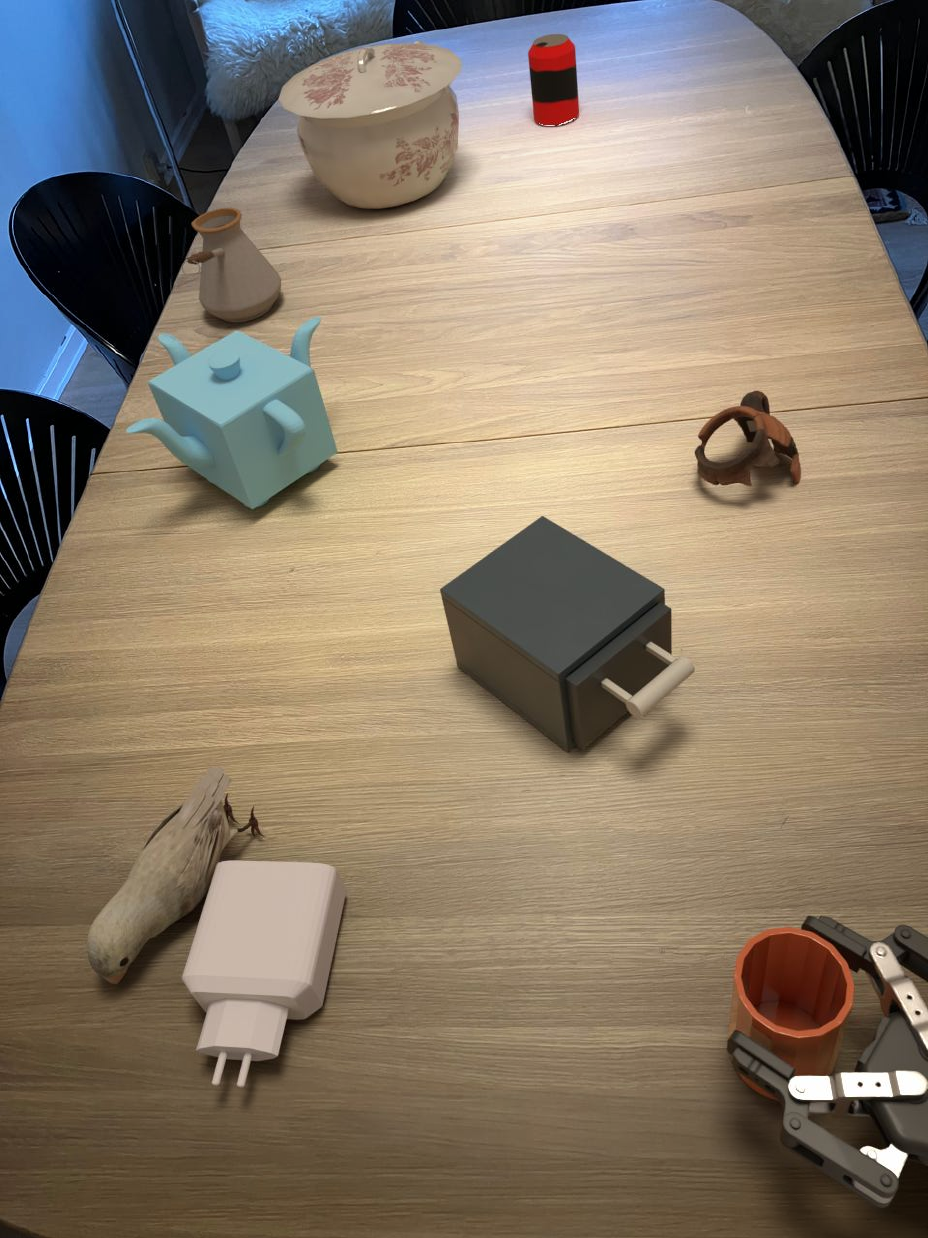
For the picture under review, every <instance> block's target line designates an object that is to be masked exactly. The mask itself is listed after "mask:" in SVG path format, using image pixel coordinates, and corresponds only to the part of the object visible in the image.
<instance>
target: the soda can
mask: <svg viewBox="0 0 928 1238" xmlns="http://www.w3.org/2000/svg"><path fill="white" fill-rule="evenodd" d="M576 54H577V53H576V45H575V44H574V42H573V41H572V40H571V39H570V37H569V36H568V35H567V34H563V33H552V34H551V33H550V34H545V35H542V36H540V37H537V38H535V39H533V41H532V44H531V46H530V48H529V49H528V52H527V58H528V68H529V79H530V80H529V81H530V89H531V90H530V91H531V101H532V113H533V120H534V122H535V123H536V124H538V123H540V124H543V125H559V124H561V123H564V122H566V121H569V120H571V119H573V118H576V117H577V118H578V116H579V115H580V103H579V89H578V88H579V87H578V85H579V84H578V72H577V71H578V70H577V55H576ZM578 114H579V115H578ZM577 118H576V119H577Z"/></svg>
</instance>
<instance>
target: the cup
mask: <svg viewBox="0 0 928 1238" xmlns="http://www.w3.org/2000/svg"><path fill="white" fill-rule="evenodd" d="M731 991H732V992H731V1002H730V1012H729V1021H728V1022H729V1023H728V1034H727V1040H728V1039H729V1037H730V1036H731V1034H732V1033H733V1031H734V1030H738V1031H740V1032H742V1033H744V1034H745V1035H746V1036H748V1037H749V1038H751V1039H752V1040H754V1041H755V1042H757V1043H758V1044H760V1045H761V1046H763V1047H764V1048H766V1049H767V1050H769V1051H770V1052H772V1053H773V1054H775V1055H776V1056H778V1057H779V1058H781V1059H782V1060H784V1061H785V1062H787V1063H788V1064H790V1065H791V1066H793V1067H794V1068H795V1072H794V1075H796V1076H832V1075H833V1072H834V1070H835V1067H836V1063H837V1060H838V1056H839V1053H840V1050H841V1046H842V1043H843V1040H844V1036H845V1033H846V1030H847V1026H848V1022H849V1020H850V1016H851V1013H852V1009H853V1005H854V995H855V981H854V978H853V976H852V972H851V969H849V966H848V964H847V962H846V961H845V959H844V958H843V957H842V956H841V955H840V953H839V952H838V951H837V950H836V948H835V947H834V946H833V945H832V944H831V943H829V942H827V941H826V940H824V939H823V938H821V937H819V936H818V935H816V934H814V933H813V932H810V931H806V930H801V928H797V927H793V926H785V927H775V928H768V929H765V930H763V931H762V932H760V933H759V934H756V935H755V936H753V937H751V938H750V939H748V940H747V942H746V943H745V945H744V946H743V947H742V948H741V950H740V951H739V953H738V954H737V956H736V961H735V967H734V972H733V980H732V990H731ZM729 1057H730V1061H732V1055H730V1054H729ZM735 1071H736V1072H737V1074H738V1076H739V1077H740V1078H741V1079H742V1081H743V1082H744V1083H745V1084H746V1085H747V1086H748V1087H749V1088H751V1090H753V1091H755V1092H756V1093H758V1094H759V1095H762V1096H763V1097H766V1098H767V1099H771V1100H774V1101H778V1100H777V1099H776V1098H775V1097H773V1096H772V1095H770V1094H769V1093H768V1092H766V1091H765V1090H763V1089H762V1088H760V1087H759V1086H758V1085H756V1084H755V1083H754V1082H752V1081H750V1080H749V1079H748V1078H746V1077H745V1076H743V1075H742V1074H740V1073H739V1072H738V1071H737V1070H736V1069H735Z"/></svg>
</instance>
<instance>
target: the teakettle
mask: <svg viewBox="0 0 928 1238" xmlns="http://www.w3.org/2000/svg"><path fill="white" fill-rule="evenodd" d="M321 321H322V317H320V316H316V317H313V318H311V319H308V320H306V321H305V322H304V323H302V324H301V325H300V326H299V327H298V328H297V330H296V331H295V333H294V335H293V338H292V341H291V346H290V351H289V352H290V353H289V355H288V354H285V353H283V352H282V351H280V350H277V349H276V348H274V347H273V346H269V345H268V344H266V343H264V342H262V341H259V340H257V339H256V338H255V337H251V336H250V335H248V334H245V333H244V332H242V331H239V330H235V331H233V332H231V333H229V334H228V335H226V336H224V337H222V338H221V339H219V340H217V341H215V342H214V343H212V344H210V345H208V346H207V347H205V348H203V349H201V350H200V351H198V352H196V353H195V354H191V352H190V351H189V350H188V349H187V348H186V347H185V345H184V344H183V342H181V341H180V340H179V339H178V338H177V337H176V336H174V335H172V334H169V333H160V334H158V336H157V340H158V341H159V343H160V344H161V345H162V346H163V348H164V349H165V350H166V352H167V354H168V355H169V356H170V358H171V360H172V363H173V365H174V366H172V367H170V368H168V369H167V370H165V371H163V372H161V373H160V374H159V375H157V376H155V377H153V378H151V379H149V380H148V382H147V384H148V387H149V390H150V391H151V394H152V396H153V398H154V400H155V403H156V405H157V408H158V411H159V412H160V415H161V417H162V419H161V418H157V417H147V418H143V419H141V420H139V421H136V422H135V423H133V424H131V425H130V426H129V427H128V428H126V430H125V433H127V434H147V435H151V436H152V437H154V438H156V439H158V440H159V441H160V442H161V444H163V446H164V447H165V448H166V449H167V450H168V451H169V452H170V454H172V455H173V456H174V457H175V459H177V460H179V461H180V462H181V463H182V464H184V465H185V466H187V467H189V468H190V469H191V470H193V471H194V472H196V473H197V474H199V475H200V476H202V477H203V478H205V479H206V480H207V481H208V482H209V483H211V484H214V485H215V486H216V487H218V488H219V489H221V490H223V491H224V492H225V493H226V494H228V495H230V496H232V497H233V498H234V499H236V500H237V501H239V502H240V503H241V504H243V505H244V507H247V508H249V509H251V510H254V509H256V508H257V509H258V508H260V507H262V506H264V505H266V504H267V503H268V502H269V500H270V499H271V498H272V497H274V496H275V495H277V494H278V493H279V492H281V491H283V490H284V489H286V488H287V487H289V486H290V485H291V484H293V483H294V482H296V481H297V480H299V479H300V478H302V477H303V476H305V475H306V474H310V473H313V472H315V471H316V470H317V469H318V468H320V466H321V464H323V463H324V462H326V461H327V460H329V459H330V458H332V457H333V456H335V455H336V454H337V453H338V452H339V451H338V447H337V444H336V441H335V438H334V437H335V436H334V434H333V430H332V427H331V425H330V419H329V417H328V413H327V409H326V406H325V403H324V399H323V396H322V392H321V389H320V385H319V383H318V378H317V376H316V375H317V374H316V372H315V369H314V368H312V365H311V355H310V352H311V351H310V347H311V340H312V338H313V335H314V333H315V331H316V329H317V328H318V326H319V325H320V323H321Z"/></svg>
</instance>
